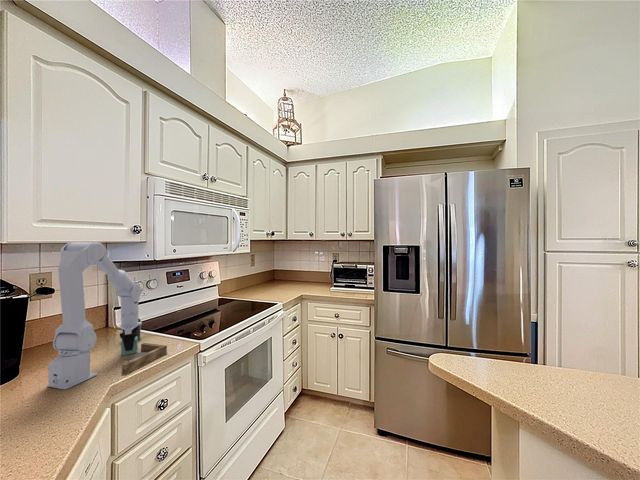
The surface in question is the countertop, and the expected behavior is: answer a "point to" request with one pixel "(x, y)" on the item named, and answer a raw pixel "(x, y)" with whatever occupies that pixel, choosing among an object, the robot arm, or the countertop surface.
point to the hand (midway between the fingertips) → (129, 347)
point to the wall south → (142, 360)
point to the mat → (135, 356)
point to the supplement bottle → (137, 330)
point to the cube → (134, 350)
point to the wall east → (152, 347)
